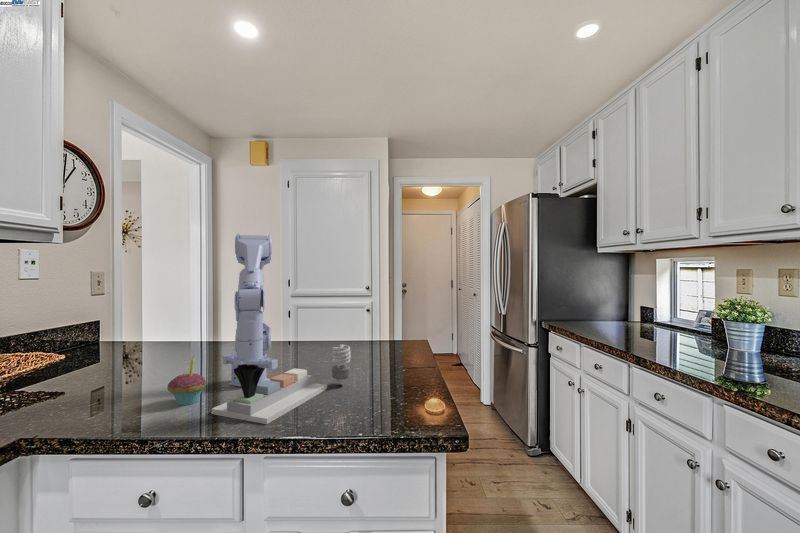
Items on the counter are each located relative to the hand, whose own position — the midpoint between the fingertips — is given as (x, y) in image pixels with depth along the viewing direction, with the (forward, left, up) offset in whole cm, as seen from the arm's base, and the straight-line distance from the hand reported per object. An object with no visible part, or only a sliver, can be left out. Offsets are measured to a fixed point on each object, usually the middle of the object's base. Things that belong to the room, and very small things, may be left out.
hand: (249, 396), depth 87 cm
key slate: (0, +6, -1) cm, 6 cm away
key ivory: (0, +18, -1) cm, 18 cm away
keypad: (0, +9, -4) cm, 10 cm away
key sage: (0, 0, -2) cm, 2 cm away
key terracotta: (0, +12, -1) cm, 12 cm away
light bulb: (+10, +26, -4) cm, 28 cm away
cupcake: (-20, 0, -4) cm, 20 cm away
